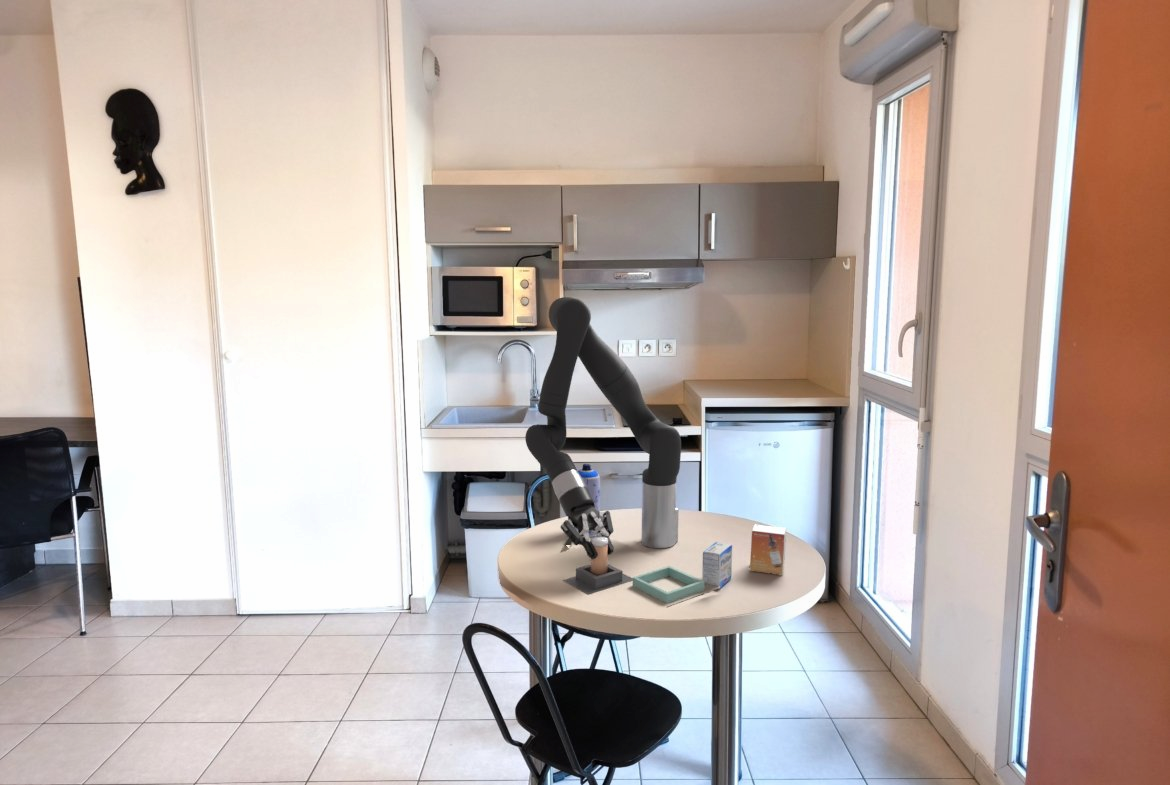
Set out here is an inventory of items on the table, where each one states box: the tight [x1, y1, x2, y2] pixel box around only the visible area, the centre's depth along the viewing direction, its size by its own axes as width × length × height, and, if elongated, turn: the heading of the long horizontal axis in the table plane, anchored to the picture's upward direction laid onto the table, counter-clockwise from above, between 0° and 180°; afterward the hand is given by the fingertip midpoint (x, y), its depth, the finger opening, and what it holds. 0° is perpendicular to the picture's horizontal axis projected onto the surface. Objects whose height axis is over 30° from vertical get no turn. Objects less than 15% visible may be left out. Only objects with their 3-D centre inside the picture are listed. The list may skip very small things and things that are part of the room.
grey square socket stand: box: [562, 563, 633, 596], centre depth 170 cm, size 14×10×4 cm
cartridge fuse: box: [590, 536, 609, 576], centre depth 170 cm, size 4×4×10 cm
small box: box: [749, 524, 787, 576], centre depth 179 cm, size 8×6×10 cm
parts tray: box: [632, 565, 705, 608], centre depth 166 cm, size 12×12×3 cm
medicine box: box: [701, 541, 733, 591], centre depth 171 cm, size 8×4×9 cm, turn 148°
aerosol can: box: [573, 463, 601, 537], centre depth 204 cm, size 8×8×20 cm
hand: (602, 555), depth 168 cm, fingers closed on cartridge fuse, 4 cm apart
